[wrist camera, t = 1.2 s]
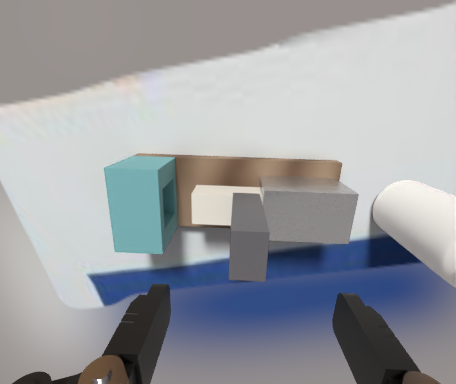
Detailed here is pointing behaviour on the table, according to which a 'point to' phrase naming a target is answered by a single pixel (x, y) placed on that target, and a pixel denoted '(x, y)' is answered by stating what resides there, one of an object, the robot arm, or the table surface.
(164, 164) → the socket
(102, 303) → the table surface
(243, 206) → the sliding bolt
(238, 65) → the table surface
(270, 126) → the table surface
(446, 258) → the can
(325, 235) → the grey speckled block
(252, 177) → the board
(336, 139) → the table surface
